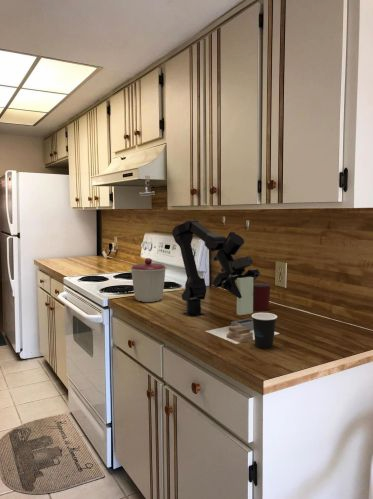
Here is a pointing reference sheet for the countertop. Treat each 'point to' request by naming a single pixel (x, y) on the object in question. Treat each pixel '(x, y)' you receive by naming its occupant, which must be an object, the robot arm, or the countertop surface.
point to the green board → (245, 295)
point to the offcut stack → (240, 334)
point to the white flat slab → (225, 330)
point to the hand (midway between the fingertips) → (247, 296)
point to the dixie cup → (264, 329)
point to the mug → (261, 296)
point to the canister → (148, 281)
